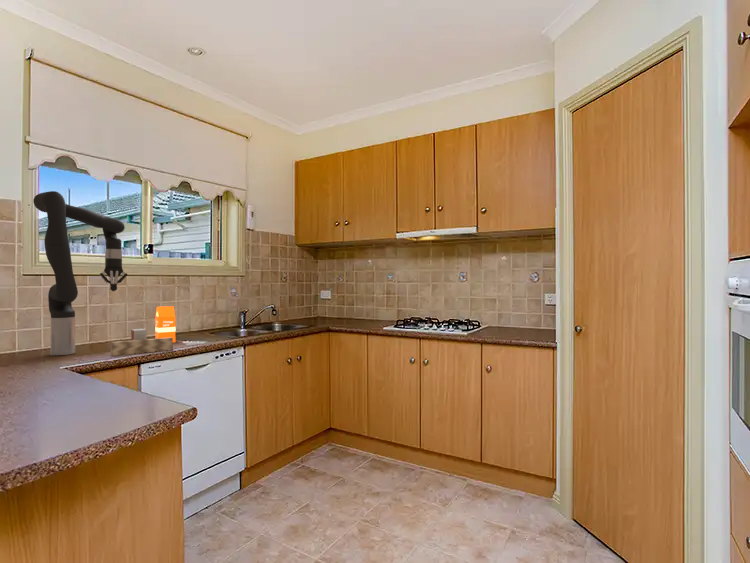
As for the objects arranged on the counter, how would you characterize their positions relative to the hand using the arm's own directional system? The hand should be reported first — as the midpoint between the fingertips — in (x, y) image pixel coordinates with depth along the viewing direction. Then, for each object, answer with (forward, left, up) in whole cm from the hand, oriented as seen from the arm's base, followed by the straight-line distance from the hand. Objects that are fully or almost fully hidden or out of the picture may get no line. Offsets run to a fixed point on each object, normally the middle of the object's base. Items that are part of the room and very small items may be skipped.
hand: (113, 291), depth 222 cm
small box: (+7, -25, -29) cm, 39 cm away
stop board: (+8, -30, -29) cm, 43 cm away
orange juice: (+25, 0, -29) cm, 38 cm away
